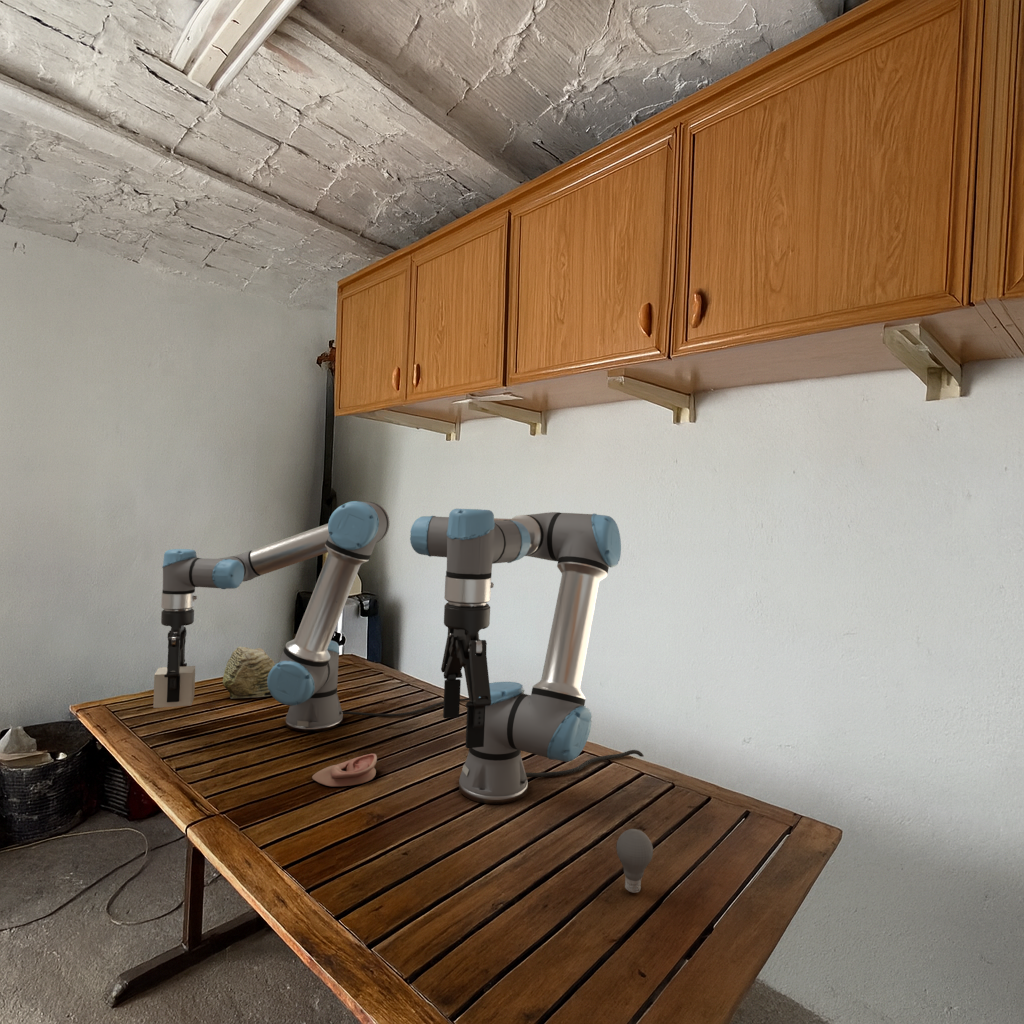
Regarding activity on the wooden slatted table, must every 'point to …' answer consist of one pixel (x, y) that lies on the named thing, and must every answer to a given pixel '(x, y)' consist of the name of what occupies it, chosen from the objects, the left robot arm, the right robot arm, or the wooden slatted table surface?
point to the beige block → (185, 687)
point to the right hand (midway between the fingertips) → (462, 731)
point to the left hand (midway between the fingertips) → (175, 696)
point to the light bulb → (634, 857)
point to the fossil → (248, 673)
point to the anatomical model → (348, 772)
